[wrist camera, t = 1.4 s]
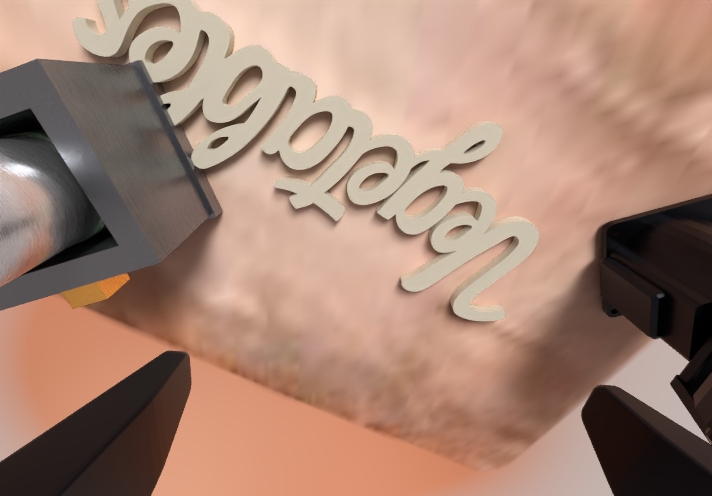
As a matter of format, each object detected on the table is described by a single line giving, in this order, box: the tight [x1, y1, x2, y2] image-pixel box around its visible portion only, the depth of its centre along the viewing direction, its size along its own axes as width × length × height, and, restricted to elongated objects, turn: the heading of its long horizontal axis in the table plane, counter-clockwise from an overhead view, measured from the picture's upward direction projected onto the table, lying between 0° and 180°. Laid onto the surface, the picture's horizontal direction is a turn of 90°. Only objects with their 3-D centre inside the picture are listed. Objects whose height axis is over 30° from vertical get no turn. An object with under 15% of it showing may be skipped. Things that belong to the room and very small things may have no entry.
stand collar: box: [0, 59, 222, 310], centre depth 16 cm, size 8×8×6 cm
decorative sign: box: [73, 0, 539, 321], centre depth 18 cm, size 26×1×10 cm
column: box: [0, 129, 107, 287], centre depth 12 cm, size 4×4×12 cm
